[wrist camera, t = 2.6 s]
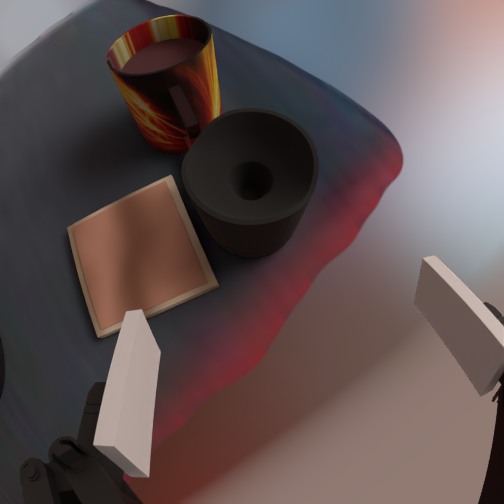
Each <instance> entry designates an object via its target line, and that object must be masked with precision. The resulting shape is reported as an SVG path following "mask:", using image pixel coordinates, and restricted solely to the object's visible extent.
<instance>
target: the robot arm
mask: <svg viewBox="0 0 504 504" xmlns="http://www.w3.org/2000/svg"><path fill="white" fill-rule="evenodd" d="M414 303H415V305H416V306H417V307H418V309H419V310H420V311H421V312H422V314H423V315H424V316H425V318H426V319H427V320H428V322H429V323H430V324H431V326H432V327H433V328H434V329H435V331H436V332H437V334H438V335H439V336H440V338H441V339H442V341H443V342H444V343H445V345H446V346H447V348H448V349H449V350H450V352H451V353H452V355H453V356H454V357H455V359H456V360H457V362H458V363H459V365H460V366H461V368H462V369H463V370H464V372H465V374H466V375H467V377H468V378H469V380H470V381H471V383H472V384H473V386H474V387H475V389H476V390H477V392H478V393H479V395H480V396H483V395H484V394H486V393H488V392H490V391H491V390H493V388H494V387H495V385H496V384H497V382H498V381H499V382H500V383H501V386H500V388H499V389H498V391H497V392H496V394H495V395H494V397H493V399H492V402H494V401H495V399H496V398H497V397H498V401H497V403H498V407H497V415H496V423H495V430H494V437H493V443H492V449H491V454H490V459H489V464H488V468H487V473H486V477H485V481H484V485H483V489H482V492H481V496H480V499H479V502H478V504H504V317H502V314H501V313H500V312H499V311H498V310H497V309H496V308H495V307H493V306H492V305H490V304H489V303H487V302H485V303H482V302H481V301H480V300H479V299H478V298H477V297H476V296H475V295H474V294H473V292H472V291H471V290H470V289H469V288H468V287H467V286H466V285H465V284H464V283H463V282H462V281H461V280H460V279H459V278H458V277H457V276H455V275H454V273H453V272H452V271H450V270H449V269H448V268H447V267H446V266H445V265H444V264H443V263H442V262H441V261H440V260H439V259H438V258H437V257H436V256H429V257H425V258H423V259H422V265H421V270H420V276H419V281H418V286H417V291H416V295H415V300H414ZM160 354H161V352H160V350H159V347H158V345H157V343H156V341H155V339H154V336H153V334H152V332H151V330H150V327H149V325H148V323H147V321H146V318H145V316H144V314H143V311H142V309H140V310H133V311H126V314H125V317H124V320H123V323H122V327H121V330H120V334H119V337H118V341H117V344H116V348H115V351H114V355H113V359H112V363H111V366H110V370H109V374H108V378H107V382H96V383H95V384H94V386H93V387H92V388H91V390H90V391H89V393H88V397H87V401H86V406H85V408H84V415H83V416H82V421H81V425H80V429H79V434H78V438H77V441H76V440H75V439H74V438H72V437H69V436H68V437H61V438H58V439H57V440H56V441H54V442H53V443H52V445H51V447H50V449H49V455H48V456H49V460H50V462H51V463H47V464H45V463H43V462H42V461H41V460H39V459H36V458H30V459H28V460H27V461H25V462H24V464H23V465H22V467H21V470H20V479H21V485H22V490H23V495H24V500H25V504H143V503H142V502H141V500H140V499H139V498H138V497H137V495H136V494H135V493H134V492H133V491H132V489H131V488H130V487H129V485H128V484H127V483H126V482H125V481H124V480H123V473H124V472H125V473H126V474H128V475H129V476H130V477H149V469H150V467H149V466H150V453H151V439H152V427H153V415H154V405H155V395H156V386H157V378H158V369H159V361H160ZM3 384H4V355H3V348H2V343H1V339H0V397H1V394H2V390H3Z"/></svg>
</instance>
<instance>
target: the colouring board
mask: <svg viewBox="0 0 504 504" xmlns="http://www.w3.org/2000/svg"><path fill="white" fill-rule="evenodd" d="M67 229H68V234H69V238H70V243H71V247H72V252H73V256H74V260H75V264H76V268H77V272H78V276H79V279H80V283H81V286H82V290H83V293H84V297H85V300H86V304H87V307H88V310H89V313H90V316H91V319H92V322H93V325H94V328H95V331H96V334H97V337H98V338H104V337H106V336H109V335H111V334H113V333H116V332H118V331H120V330H121V327H122V323H123V320H124V317H125V314H126V311H133V310H140V309H142V311H143V314H144V316H145V318H146V319H148V318H150V317H152V316H155V315H157V314H159V313H161V312H164V311H166V310H168V309H170V308H173V307H175V306H177V305H179V304H182V303H184V302H186V301H188V300H191V299H193V298H195V297H197V296H200V295H202V294H204V293H206V292H208V291H211V290H213V289H215V288H217V287H220V286H219V284H218V282H217V280H216V277H215V275H214V273H213V271H212V268H211V266H210V264H209V262H208V259H207V257H206V255H205V252H204V250H203V248H202V246H201V243H200V241H199V239H198V236H197V234H196V232H195V229H194V227H193V225H192V222H191V220H190V217H189V215H188V213H187V210H186V208H185V205H184V203H183V201H182V198H181V196H180V193H179V191H178V188H177V186H176V184H175V181H174V179H173V177H172V175H169V176H167V177H165V178H163V179H161V180H159V181H156V182H154V183H152V184H150V185H148V186H146V187H144V188H142V189H140V190H137V191H135V192H133V193H131V194H129V195H127V196H125V197H123V198H121V199H119V200H117V201H115V202H113V203H112V204H110V205H108V206H106V207H104V208H102V209H100V210H98V211H96V212H94V213H93V214H91V215H89V216H87V217H85V218H83V219H82V220H80V221H78V222H76V223H74V224H73V225H71V226H69V227H67Z"/></svg>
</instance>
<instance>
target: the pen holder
mask: <svg viewBox="0 0 504 504" xmlns="http://www.w3.org/2000/svg"><path fill="white" fill-rule="evenodd" d="M318 169H319V164H318V155H317V150H316V148H315V145H314V143H313V141H312V139H311V138H310V136H309V135H308V134H307V132H306V131H305V130H304V129H303V128H302V127H301V126H300V125H299V124H297V123H296V122H294V121H293V120H291V119H290V118H288V117H286V116H284V115H282V114H279V113H277V112H273V111H270V110H265V109H257V108H244V109H236V110H232V111H229V112H226V113H224V114H221V115H220V116H218V117H216V118H215V119H213V120H212V121H211V122H210V123H209V124H208V125H207V126H206V127H205V128H204V129H203V131H202V132H201V133H200V134H199V136H198V137H197V139H196V140H195V141H194V143H193V144H192V146H191V147H190V149H189V150H188V152H187V154H186V155H185V157H184V160H183V162H182V166H181V177H182V182H183V184H184V187H185V190H186V192H187V193H188V195H189V197H190V199H191V201H192V203H193V205H194V206H195V208H196V210H197V212H198V214H199V216H200V217H201V219H202V221H203V223H204V225H205V226H206V228H207V230H208V231H209V233H210V235H211V236H212V238H213V239H214V240H215V241H216V243H217V244H218V245H219V246H220V247H222V248H223V249H225V250H226V251H228V252H230V253H232V254H234V255H237V256H241V257H248V258H256V257H262V256H266V255H269V254H271V253H273V252H275V251H277V250H278V249H280V248H281V247H282V246H283V245H284V244H285V243H286V242H287V241H288V240H289V239H290V237H291V236H292V234H293V232H294V230H295V229H296V227H297V225H298V223H299V221H300V219H301V217H302V215H303V213H304V211H305V209H306V207H307V205H308V203H309V201H310V199H311V197H312V195H313V192H314V189H315V187H316V183H317V178H318Z"/></svg>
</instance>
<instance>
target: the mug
mask: <svg viewBox="0 0 504 504" xmlns="http://www.w3.org/2000/svg"><path fill="white" fill-rule="evenodd" d="M107 64H108V67H109V69H110V71H111V73H112V75H113V77H114V79H115V81H116V83H117V85H118V87H119V89H120V92H121V94H122V96H123V98H124V100H125V102H126V104H127V106H128V108H129V110H130V112H131V114H132V116H133V118H134V120H135V122H136V124H137V126H138V128H139V130H140V132H141V134H142V136H143V138H144V139H145V141H146V143H147V144H148V145H149V146H150V147H152V148H153V149H155V150H157V151H160V152H163V153H171V154H175V153H183V152H188V150H189V149H190V147H191V146H192V144H193V143H194V141H195V140H196V139H197V137H198V136H199V134H200V133H201V132H202V131H203V129H204V128H205V127H206V126H207V125H208V124H209V123H210V122H211V121H212V120H213V119H215V118H216V117H218V116H220V115H221V114H223V113H222V106H221V99H220V91H219V84H218V76H217V69H216V61H215V53H214V46H213V38H212V31H211V27H210V26H209V24H208V23H207V22H205V21H204V20H202V19H200V18H198V17H194V16H190V15H170V16H163V17H159V18H155V19H152V20H149V21H146V22H144V23H141V24H139V25H137V26H135V27H133V28H132V29H130V30H128V31H127V32H126V33H124V34H123V35H122V36H120V37H119V38H118V39H117V40H116V41H115V43H114V44H113V45H112V46H111V48H110V50H109V52H108V55H107Z"/></svg>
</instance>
